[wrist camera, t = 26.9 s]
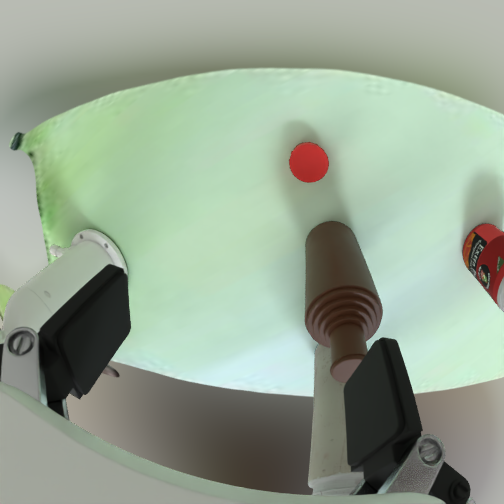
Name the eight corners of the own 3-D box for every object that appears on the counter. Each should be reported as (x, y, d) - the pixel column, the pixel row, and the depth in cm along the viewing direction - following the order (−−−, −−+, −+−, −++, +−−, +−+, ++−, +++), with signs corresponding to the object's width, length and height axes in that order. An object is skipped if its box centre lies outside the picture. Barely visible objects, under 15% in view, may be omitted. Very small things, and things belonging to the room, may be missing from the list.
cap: (332, 157, 28) (337, 161, 25) (310, 183, 30) (312, 190, 26) (304, 134, 28) (305, 135, 24) (283, 161, 29) (280, 166, 26)
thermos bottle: (338, 373, 42) (335, 527, 18) (304, 354, 41) (286, 525, 17) (372, 348, 39) (391, 516, 14) (339, 326, 38) (346, 519, 13)
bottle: (299, 260, 34) (288, 389, 17) (314, 214, 31) (325, 326, 14) (345, 274, 34) (368, 402, 17) (363, 230, 31) (416, 346, 14)
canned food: (461, 227, 28) (505, 266, 18) (500, 217, 26) (545, 250, 16) (459, 275, 31) (493, 322, 21) (496, 263, 28) (533, 303, 19)
